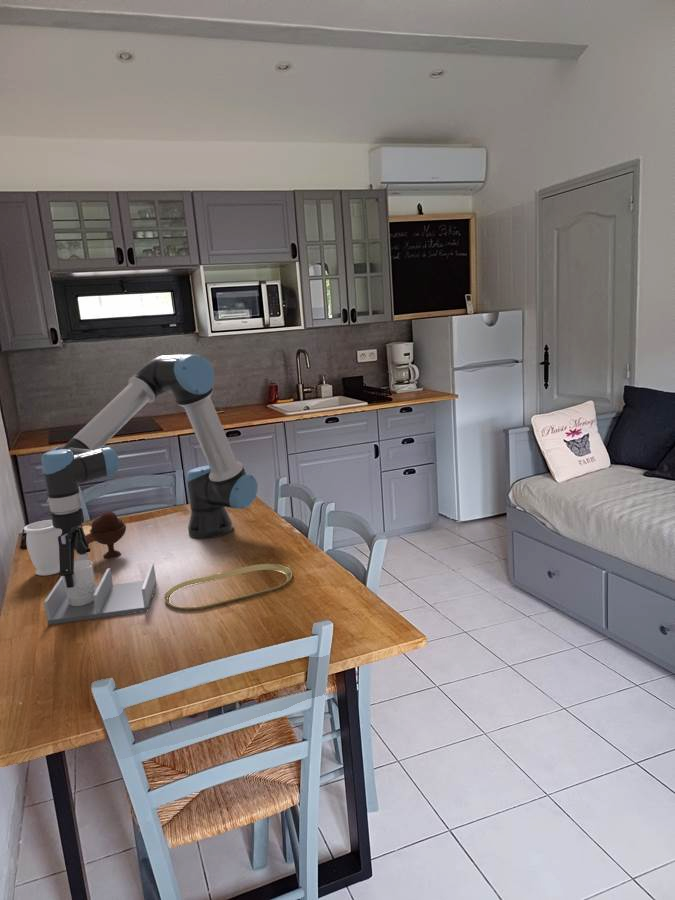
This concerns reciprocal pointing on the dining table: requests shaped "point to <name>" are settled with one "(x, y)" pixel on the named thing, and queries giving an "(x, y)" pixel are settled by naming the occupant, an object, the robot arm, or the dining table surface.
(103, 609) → the dish rack
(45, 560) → the jar
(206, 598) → the dining table surface
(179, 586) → the brass oval ring
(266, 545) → the dining table surface
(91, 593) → the white cup
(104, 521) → the ice cream bowl
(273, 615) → the dining table surface
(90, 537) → the slice of bread
